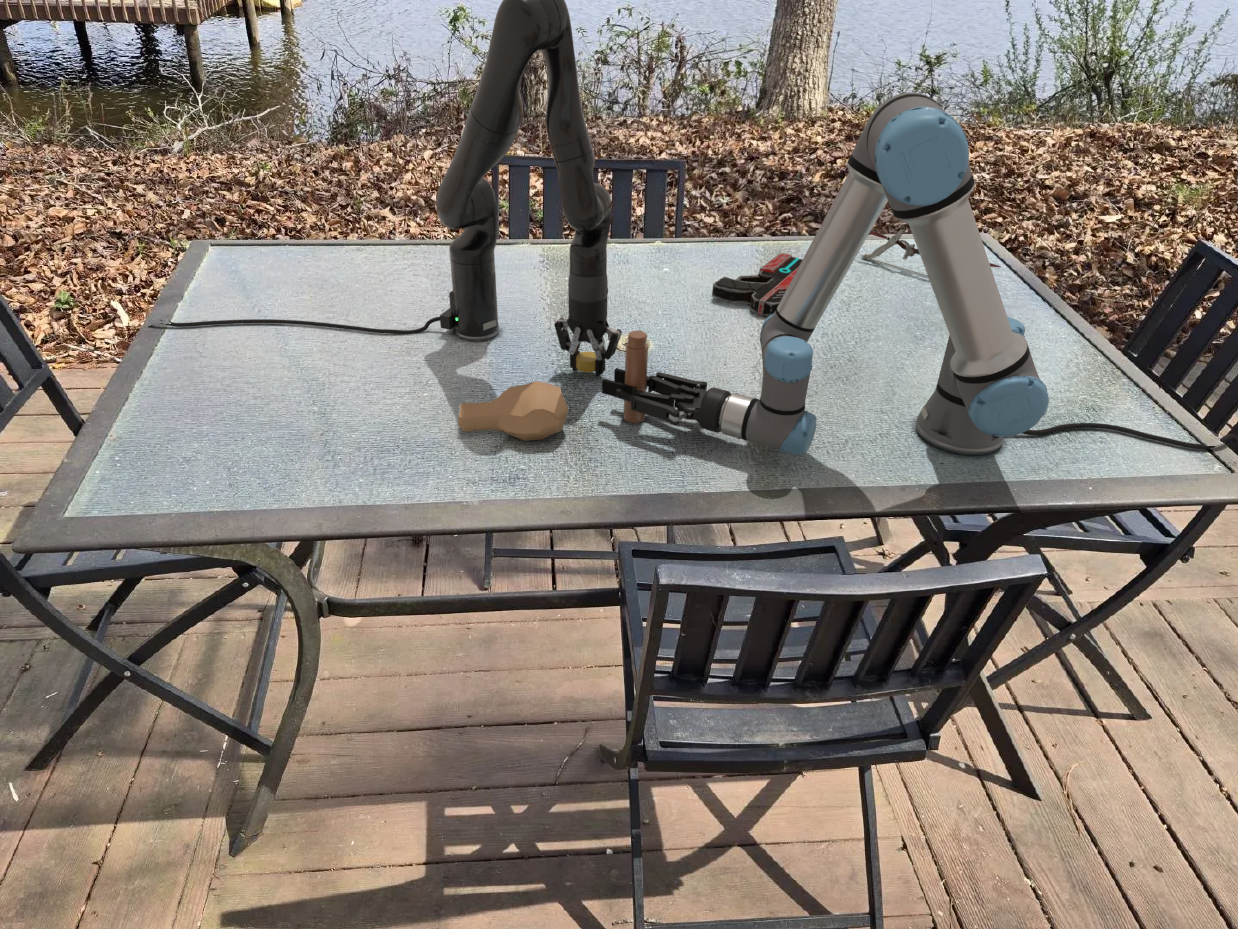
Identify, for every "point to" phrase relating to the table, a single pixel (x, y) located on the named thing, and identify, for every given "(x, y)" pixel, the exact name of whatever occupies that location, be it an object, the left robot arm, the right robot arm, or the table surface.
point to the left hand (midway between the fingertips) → (587, 371)
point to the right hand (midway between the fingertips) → (609, 380)
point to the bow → (905, 245)
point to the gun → (760, 285)
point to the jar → (635, 370)
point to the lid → (586, 361)
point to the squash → (519, 412)
